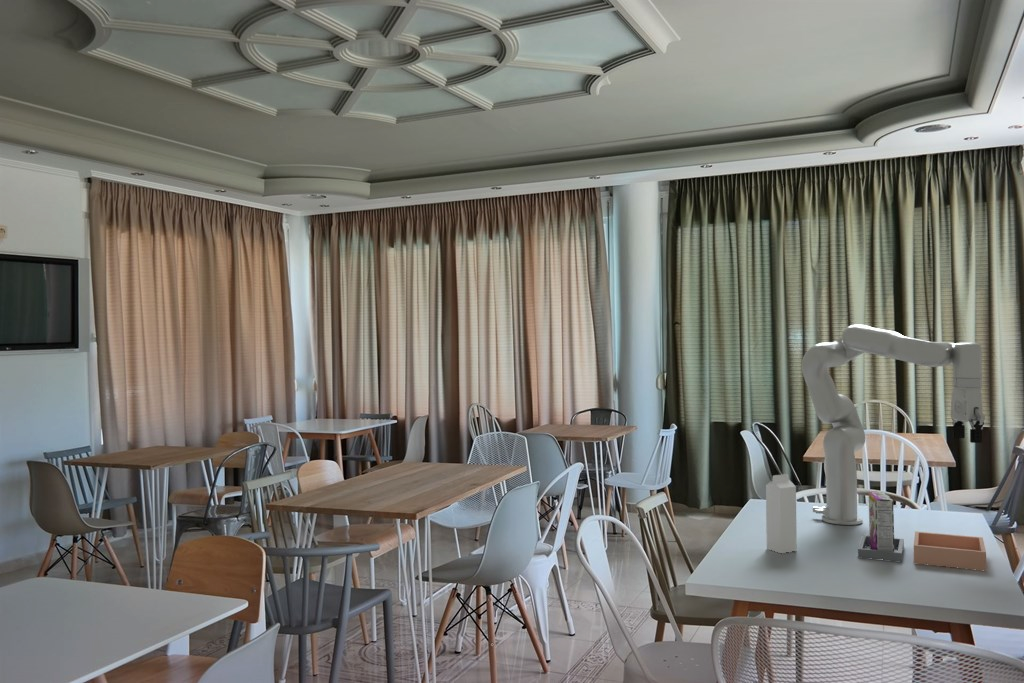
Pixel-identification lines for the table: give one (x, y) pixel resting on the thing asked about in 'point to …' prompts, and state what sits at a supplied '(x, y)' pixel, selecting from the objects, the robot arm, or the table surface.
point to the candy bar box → (881, 521)
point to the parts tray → (880, 553)
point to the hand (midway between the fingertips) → (967, 440)
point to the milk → (781, 514)
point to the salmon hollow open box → (949, 550)
